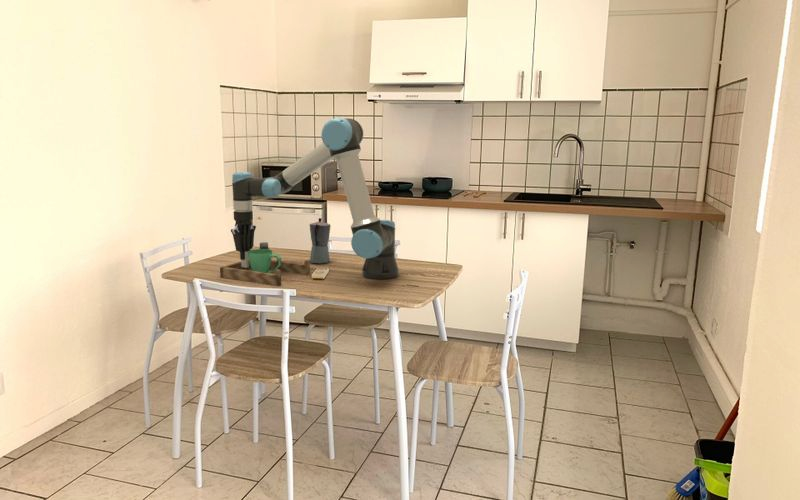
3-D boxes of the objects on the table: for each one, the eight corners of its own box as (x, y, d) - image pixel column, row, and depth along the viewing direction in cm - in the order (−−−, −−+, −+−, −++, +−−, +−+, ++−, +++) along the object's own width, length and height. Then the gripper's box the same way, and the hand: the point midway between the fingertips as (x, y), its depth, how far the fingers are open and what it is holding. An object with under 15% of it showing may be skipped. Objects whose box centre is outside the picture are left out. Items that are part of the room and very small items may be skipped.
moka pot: (332, 259, 275) (332, 216, 271) (328, 266, 260) (327, 221, 256) (312, 258, 275) (311, 215, 271) (306, 266, 260) (305, 221, 256)
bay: (316, 272, 249) (315, 248, 247) (278, 285, 226) (277, 259, 224) (260, 264, 261) (260, 241, 259) (220, 277, 239) (219, 251, 237)
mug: (243, 276, 240) (242, 252, 238) (257, 271, 249) (256, 248, 247) (274, 280, 235) (273, 255, 233) (287, 274, 244) (287, 251, 242)
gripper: (246, 208, 249) (248, 262, 253) (224, 211, 237) (227, 269, 242) (260, 209, 245) (262, 264, 250) (239, 213, 234) (241, 271, 239)
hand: (245, 266), depth 246 cm, fingers closed
